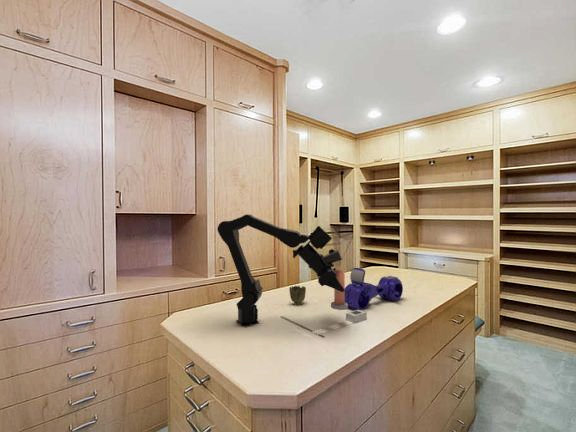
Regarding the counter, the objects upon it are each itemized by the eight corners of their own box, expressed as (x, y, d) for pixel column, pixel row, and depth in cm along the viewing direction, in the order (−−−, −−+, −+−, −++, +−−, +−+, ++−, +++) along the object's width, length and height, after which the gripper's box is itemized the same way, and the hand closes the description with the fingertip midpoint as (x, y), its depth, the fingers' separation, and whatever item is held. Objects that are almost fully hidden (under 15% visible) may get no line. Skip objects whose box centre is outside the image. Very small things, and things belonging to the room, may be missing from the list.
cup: (286, 306, 127) (286, 288, 127) (293, 301, 133) (293, 284, 133) (301, 308, 123) (301, 290, 123) (308, 304, 130) (308, 286, 130)
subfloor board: (323, 340, 92) (323, 337, 92) (279, 318, 112) (279, 316, 112) (373, 322, 108) (373, 319, 108) (328, 306, 127) (328, 304, 127)
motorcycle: (361, 316, 114) (360, 272, 114) (335, 308, 125) (335, 267, 125) (409, 301, 135) (409, 263, 135) (384, 294, 146) (384, 260, 146)
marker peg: (335, 310, 99) (335, 272, 99) (328, 305, 105) (328, 269, 105) (351, 308, 101) (351, 271, 101) (342, 303, 107) (343, 268, 107)
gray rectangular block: (354, 323, 105) (354, 315, 105) (346, 319, 108) (345, 312, 108) (366, 318, 109) (366, 311, 109) (358, 316, 112) (358, 309, 112)
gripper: (328, 245, 94) (363, 280, 93) (328, 240, 113) (356, 269, 111) (304, 268, 95) (338, 303, 94) (308, 260, 114) (336, 289, 113)
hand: (343, 289), depth 103 cm, fingers closed on marker peg, 4 cm apart
